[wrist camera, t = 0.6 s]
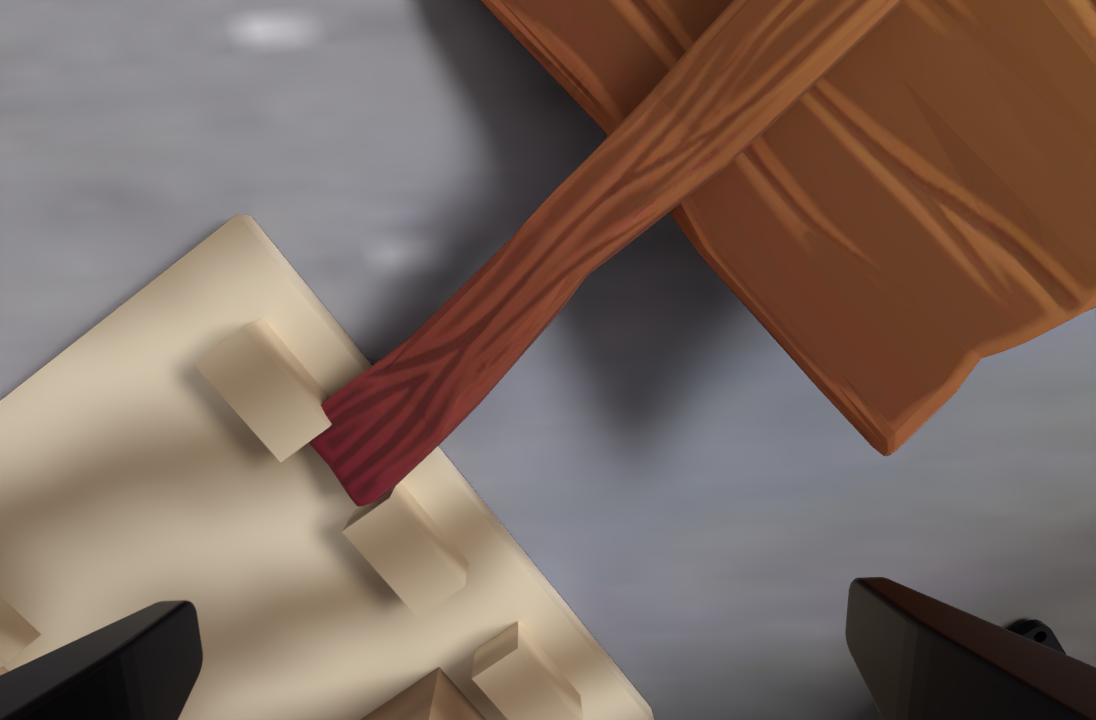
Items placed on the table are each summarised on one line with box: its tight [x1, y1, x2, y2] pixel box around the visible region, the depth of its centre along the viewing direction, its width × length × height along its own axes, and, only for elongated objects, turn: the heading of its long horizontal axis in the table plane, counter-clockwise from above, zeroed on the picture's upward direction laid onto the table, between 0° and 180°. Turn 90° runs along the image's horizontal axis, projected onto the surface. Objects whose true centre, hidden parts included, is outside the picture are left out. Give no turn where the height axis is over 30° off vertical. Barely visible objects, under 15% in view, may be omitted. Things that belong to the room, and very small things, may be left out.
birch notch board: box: [0, 215, 654, 720], centre depth 22 cm, size 24×19×3 cm
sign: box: [309, 0, 1096, 506], centre depth 16 cm, size 20×6×30 cm
